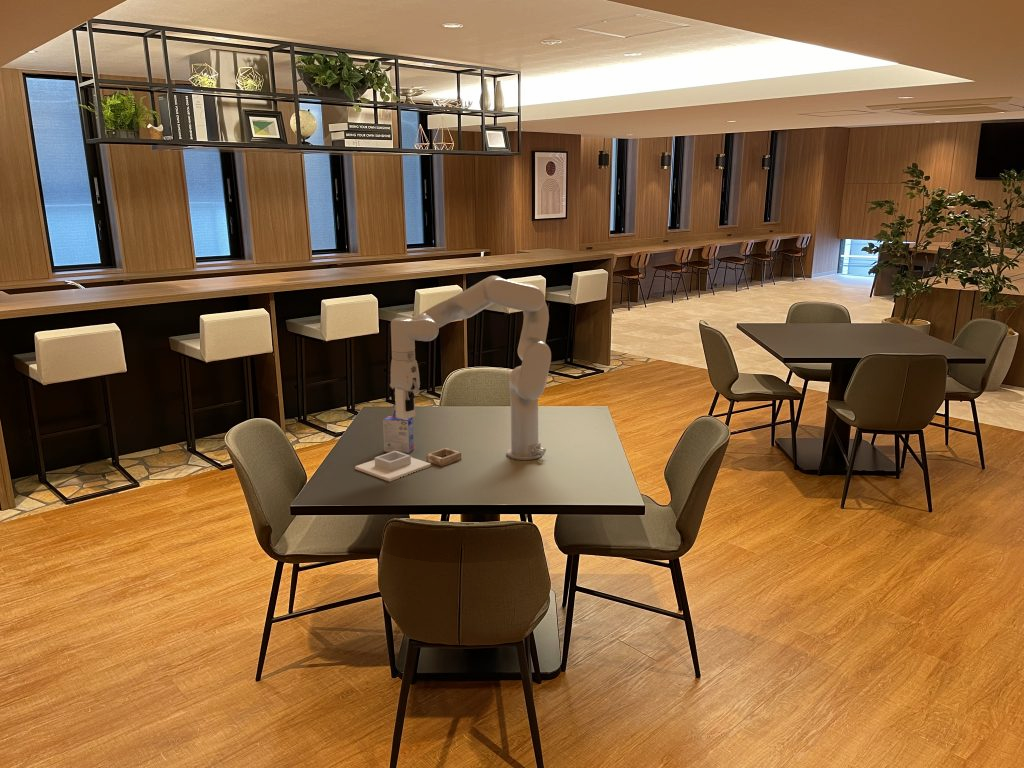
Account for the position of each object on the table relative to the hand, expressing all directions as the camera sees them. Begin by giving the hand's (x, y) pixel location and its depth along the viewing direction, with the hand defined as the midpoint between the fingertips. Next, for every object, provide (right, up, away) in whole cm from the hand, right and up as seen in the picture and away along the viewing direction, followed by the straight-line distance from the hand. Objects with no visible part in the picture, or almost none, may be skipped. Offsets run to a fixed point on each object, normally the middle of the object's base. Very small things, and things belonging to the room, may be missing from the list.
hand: (405, 408), depth 258 cm
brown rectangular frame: (+12, -18, +9) cm, 24 cm away
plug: (0, -3, +1) cm, 3 cm away
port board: (-4, -20, +3) cm, 21 cm away
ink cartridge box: (-5, -16, +20) cm, 26 cm away
